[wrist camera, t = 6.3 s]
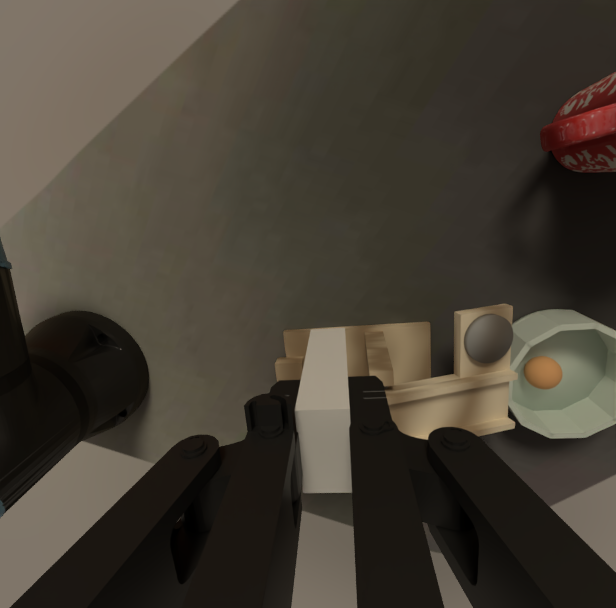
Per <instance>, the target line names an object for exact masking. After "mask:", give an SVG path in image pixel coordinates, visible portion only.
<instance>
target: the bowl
mask: <svg viewBox="0 0 616 608" xmlns="http://www.w3.org/2000/svg"><path fill="white" fill-rule="evenodd" d="M512 328H513V341H512V345H511V357H510V369H511V370H512V371H514V372H516V373H518V379H517V380H513V381H509V399H508V408H509V410H510V411H511V412H512V413H513V415H514V416H515V417H516V419H517V420H518V421H519V423H520V424H521V425H522V426H524V427H527V428H529V429H531V430H533V431H535V432H537V433H539V434H542V435H544V436H546V437H548V438H550V439H552V438H586V437H588V436H590V435H592V434H594V433H596V432H599V431H601V430H603V429H605V428H607V427H610V426H612V425H614V424H616V331H615V330H613V329H611V328H609V327H607V326H605V325H603V324H601V323H599V322H597V321H595V320H593V319H591V318H589V317H586V316H584V315H582V314H580V313H578V312H576V311H574V310H565V309H547V310H541V311H537V312H533V313H531V314H528V315H526V316H524V317H522V318H520V319H518V320H517V321H515V322H514V323H512ZM537 356H546V357H549V358H552V359H553V360H555V361H556V362H557V363H558V364H559V365H560V367H561V369H562V374H563V375H562V379H561V381H560V383H559V384H558V385H557V386H556V387H554V388H551V389H539V388H536V387H534V386H532V385H531V384H530V383H529V382H528V381H527V380H526V378H525V376H524V367H525V364H526V363H527V362H528V361H529V360H530V359H532V358H534V357H537Z"/></svg>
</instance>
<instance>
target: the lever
mask: <svg viewBox="0 0 616 608" xmlns="http://www.w3.org/2000/svg"><path fill="white" fill-rule="evenodd" d="M512 315H513V306H510V305H507V304H500V305H494V306H487V307H481V308H475V309H469V310H462V311H456V312H454V374H451V375H445V376H440V377H435V378H429V379H424V380H419V381H413V382H408V383H403V384H397V385H394V386H384V389H385V393H386V398H387V401H388V405H389V409H390V413H391V417H392V421H394V422H395V424H396V425H397V427H398V430H399V431H401V432H402V433H404V434H406V435H409V436H412V437H416V438H420V439H426V440H428V437H429V434H430V433H431V432H432V431H433V430H435V429H438V428H441V427H458V428H462V429H465V430H468V431H470V432H472V433H474V434H475V435H477V436H482V435H487V434H491V433H496V432H500V431H505V430H509V429H514V428H515V422H514V421H512V420H511V419H510V418H508V399H509V381H513V380H517V379H518V373H516V372H514V371H512V370H511V369H510V357H511V345H512V341H513V328H512Z"/></svg>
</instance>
